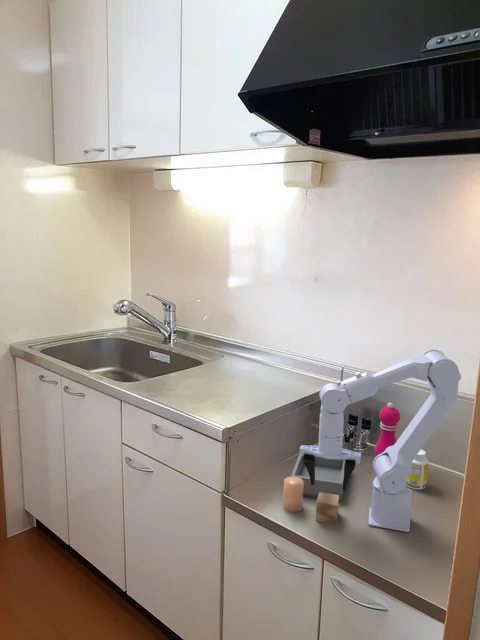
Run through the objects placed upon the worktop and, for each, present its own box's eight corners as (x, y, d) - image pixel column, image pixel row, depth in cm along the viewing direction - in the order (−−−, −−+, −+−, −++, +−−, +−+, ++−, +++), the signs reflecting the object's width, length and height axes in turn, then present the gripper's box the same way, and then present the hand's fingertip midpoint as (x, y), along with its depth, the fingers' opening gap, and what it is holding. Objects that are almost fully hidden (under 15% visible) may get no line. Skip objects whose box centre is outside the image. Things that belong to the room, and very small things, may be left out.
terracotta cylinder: (303, 502, 131) (305, 478, 130) (300, 513, 126) (301, 487, 125) (285, 499, 132) (286, 475, 131) (281, 509, 128) (282, 484, 126)
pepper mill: (395, 473, 148) (400, 408, 144) (370, 467, 151) (375, 404, 147) (400, 463, 154) (405, 401, 150) (377, 457, 157) (381, 397, 154)
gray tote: (346, 470, 149) (347, 454, 148) (341, 501, 132) (342, 483, 131) (300, 464, 152) (301, 448, 151) (290, 493, 136) (290, 476, 135)
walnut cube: (338, 513, 127) (339, 495, 126) (336, 524, 122) (337, 505, 121) (318, 509, 128) (319, 492, 127) (315, 520, 123) (316, 502, 122)
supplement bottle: (420, 480, 144) (423, 446, 142) (429, 490, 138) (432, 455, 136) (401, 480, 143) (404, 447, 141) (410, 491, 138) (413, 456, 136)
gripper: (362, 430, 123) (359, 482, 125) (303, 423, 127) (301, 473, 129) (361, 442, 116) (357, 496, 119) (299, 434, 120) (297, 487, 123)
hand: (328, 485), depth 124 cm, fingers open, 7 cm apart
